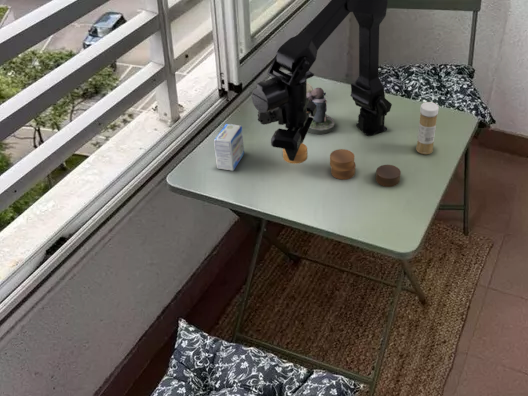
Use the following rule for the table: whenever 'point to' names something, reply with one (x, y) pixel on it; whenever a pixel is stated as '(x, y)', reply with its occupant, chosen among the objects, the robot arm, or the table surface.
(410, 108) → the table surface
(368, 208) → the table surface
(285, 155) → the oak chip
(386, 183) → the walnut chip
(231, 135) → the medicine box
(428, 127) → the sprinkles bottle
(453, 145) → the table surface
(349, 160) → the chip pile
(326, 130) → the figurine
